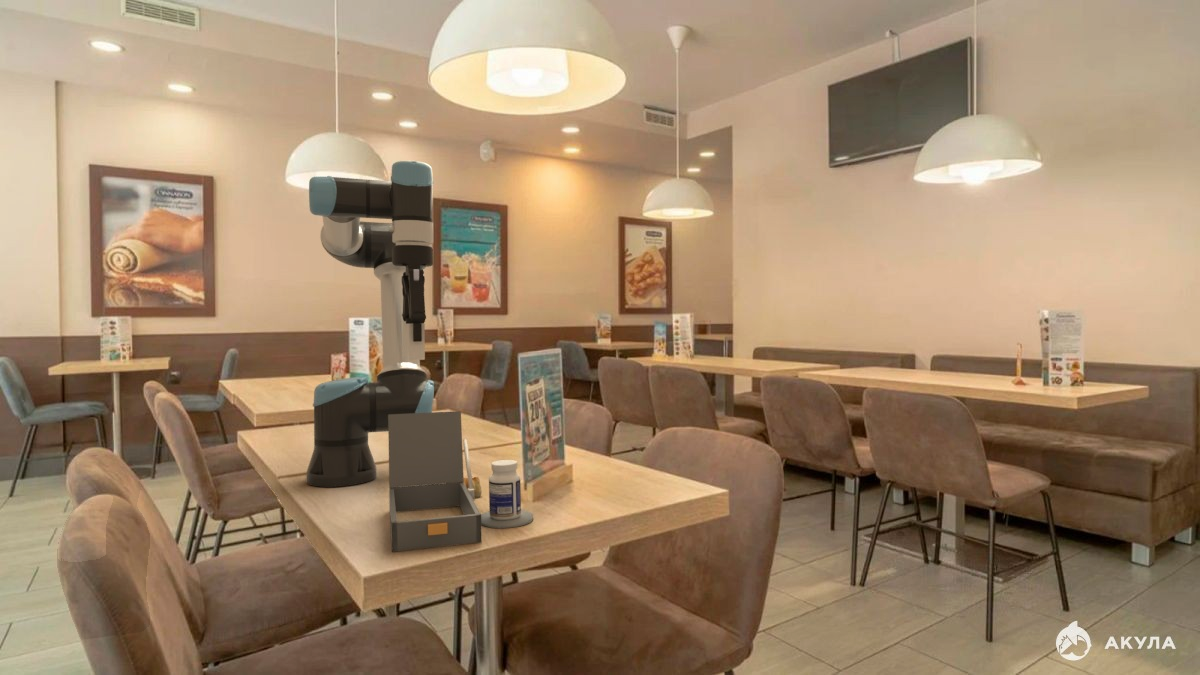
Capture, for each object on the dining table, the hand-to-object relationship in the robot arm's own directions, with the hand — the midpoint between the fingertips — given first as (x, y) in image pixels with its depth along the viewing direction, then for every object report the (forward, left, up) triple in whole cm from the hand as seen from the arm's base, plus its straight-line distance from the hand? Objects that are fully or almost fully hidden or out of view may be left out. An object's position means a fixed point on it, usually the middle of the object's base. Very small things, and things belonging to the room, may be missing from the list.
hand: (413, 357), depth 127 cm
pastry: (-9, +10, -30) cm, 33 cm away
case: (+9, +3, -30) cm, 31 cm away
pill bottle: (+12, +15, -29) cm, 35 cm away
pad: (+12, +15, -30) cm, 35 cm away
